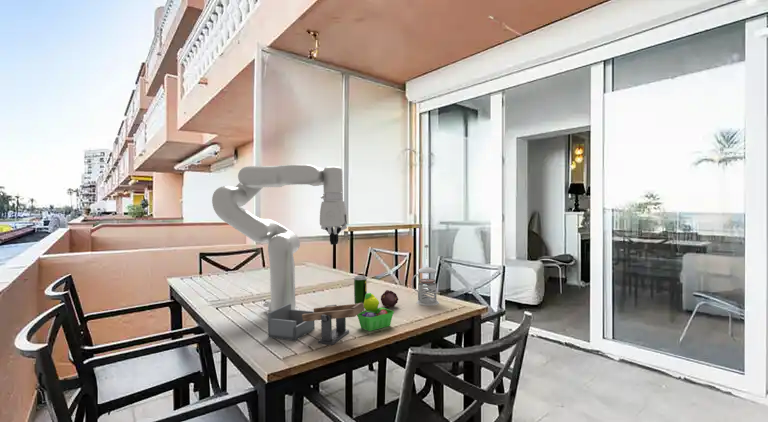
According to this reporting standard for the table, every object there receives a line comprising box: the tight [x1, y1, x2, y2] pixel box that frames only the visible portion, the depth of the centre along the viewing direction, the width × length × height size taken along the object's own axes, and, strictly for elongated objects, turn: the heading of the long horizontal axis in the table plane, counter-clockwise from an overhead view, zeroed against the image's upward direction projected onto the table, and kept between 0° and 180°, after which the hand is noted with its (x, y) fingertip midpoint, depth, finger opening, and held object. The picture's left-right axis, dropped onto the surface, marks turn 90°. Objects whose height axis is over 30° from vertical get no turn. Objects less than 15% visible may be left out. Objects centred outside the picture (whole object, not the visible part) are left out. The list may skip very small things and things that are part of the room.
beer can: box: [353, 274, 368, 304], centre depth 158 cm, size 5×5×12 cm
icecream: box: [380, 289, 399, 309], centre depth 154 cm, size 7×7×15 cm
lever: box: [302, 303, 365, 322], centre depth 122 cm, size 18×16×2 cm
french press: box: [411, 244, 440, 307], centre depth 159 cm, size 10×12×25 cm
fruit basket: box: [356, 292, 395, 332], centre depth 129 cm, size 11×9×11 cm
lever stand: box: [317, 315, 350, 346], centre depth 118 cm, size 5×13×8 cm, turn 161°
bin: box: [267, 304, 316, 342], centre depth 123 cm, size 10×12×8 cm
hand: (334, 244), depth 147 cm, fingers closed
